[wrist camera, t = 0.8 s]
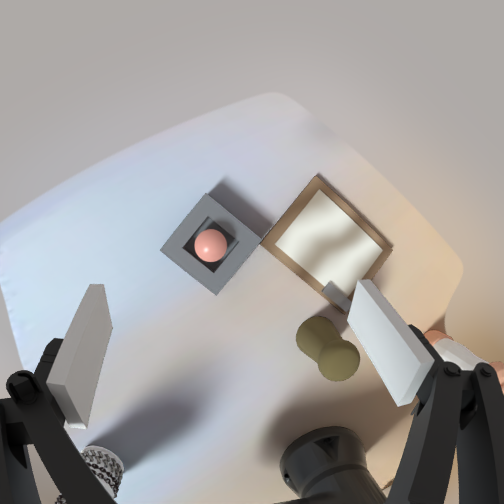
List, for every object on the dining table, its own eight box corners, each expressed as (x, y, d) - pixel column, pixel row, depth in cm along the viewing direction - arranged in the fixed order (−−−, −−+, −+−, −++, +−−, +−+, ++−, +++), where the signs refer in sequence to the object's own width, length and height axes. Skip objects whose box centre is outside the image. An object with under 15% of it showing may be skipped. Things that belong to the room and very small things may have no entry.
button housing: (258, 238, 43) (262, 239, 40) (216, 290, 43) (216, 295, 40) (206, 195, 42) (205, 192, 39) (163, 248, 42) (159, 250, 39)
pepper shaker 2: (405, 358, 48) (477, 409, 29) (429, 322, 48) (508, 359, 29) (428, 373, 49) (496, 421, 30) (449, 340, 49) (523, 377, 30)
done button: (232, 242, 41) (233, 243, 38) (213, 265, 41) (213, 268, 38) (208, 222, 40) (208, 222, 38) (189, 246, 40) (187, 248, 38)
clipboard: (390, 249, 46) (395, 250, 45) (342, 313, 46) (346, 315, 44) (314, 176, 44) (317, 175, 42) (259, 243, 43) (260, 244, 42)
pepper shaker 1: (318, 307, 45) (348, 331, 34) (342, 334, 46) (376, 362, 35) (287, 336, 45) (309, 369, 34) (313, 362, 46) (339, 397, 35)
